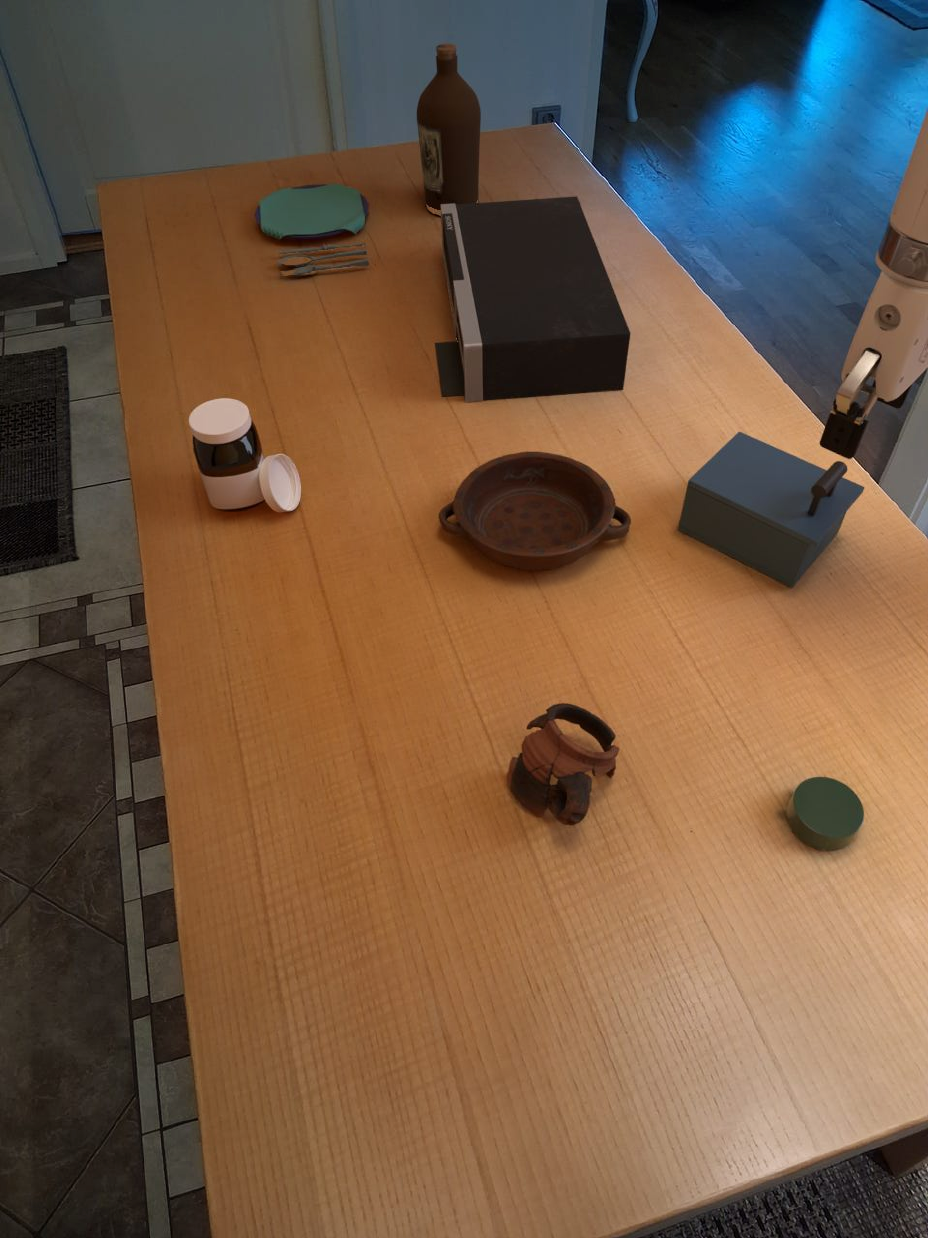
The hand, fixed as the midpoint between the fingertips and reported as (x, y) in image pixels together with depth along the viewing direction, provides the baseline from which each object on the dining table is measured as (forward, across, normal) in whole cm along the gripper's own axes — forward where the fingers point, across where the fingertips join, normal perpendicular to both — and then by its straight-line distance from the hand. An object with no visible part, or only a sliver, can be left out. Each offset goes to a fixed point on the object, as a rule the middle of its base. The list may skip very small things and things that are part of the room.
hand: (861, 425), depth 83 cm
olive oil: (+22, +42, +91) cm, 103 cm away
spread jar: (+22, -30, +57) cm, 68 cm away
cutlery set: (+22, +19, +102) cm, 106 cm away
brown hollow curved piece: (+22, -38, +4) cm, 43 cm away
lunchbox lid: (+14, +4, +7) cm, 17 cm away
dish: (+22, -13, +27) cm, 37 cm away
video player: (+22, +21, +59) cm, 66 cm away
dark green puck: (+21, -25, -16) cm, 36 cm away
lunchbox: (+21, +4, +8) cm, 23 cm away
